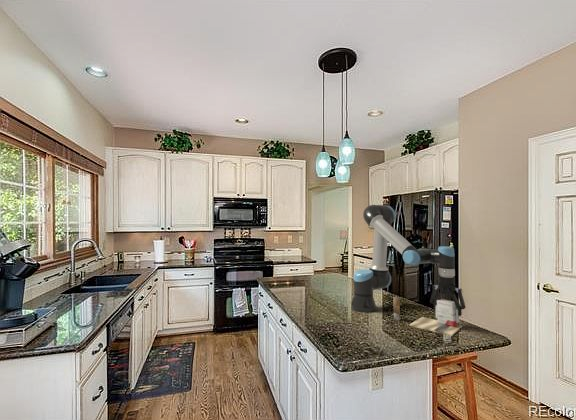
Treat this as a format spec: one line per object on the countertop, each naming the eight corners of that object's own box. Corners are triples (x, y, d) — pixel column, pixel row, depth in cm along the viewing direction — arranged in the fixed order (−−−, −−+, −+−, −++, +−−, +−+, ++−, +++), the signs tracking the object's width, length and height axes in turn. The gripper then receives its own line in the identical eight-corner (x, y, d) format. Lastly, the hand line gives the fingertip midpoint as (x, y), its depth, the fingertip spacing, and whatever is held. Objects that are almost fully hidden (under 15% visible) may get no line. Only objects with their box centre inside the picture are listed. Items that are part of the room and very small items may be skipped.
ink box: (458, 325, 154) (458, 302, 155) (453, 327, 152) (453, 303, 152) (442, 320, 162) (441, 298, 162) (436, 322, 159) (436, 299, 159)
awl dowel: (392, 319, 166) (392, 297, 166) (395, 318, 168) (394, 296, 169) (398, 321, 164) (398, 298, 164) (400, 319, 166) (400, 297, 166)
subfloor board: (409, 325, 156) (409, 324, 156) (422, 318, 169) (422, 316, 169) (452, 336, 142) (451, 334, 142) (462, 327, 155) (462, 325, 155)
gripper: (422, 274, 163) (423, 316, 162) (468, 280, 147) (469, 326, 147) (427, 272, 168) (428, 313, 167) (472, 278, 153) (473, 323, 152)
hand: (447, 319), depth 157 cm, fingers closed on ink box, 9 cm apart
